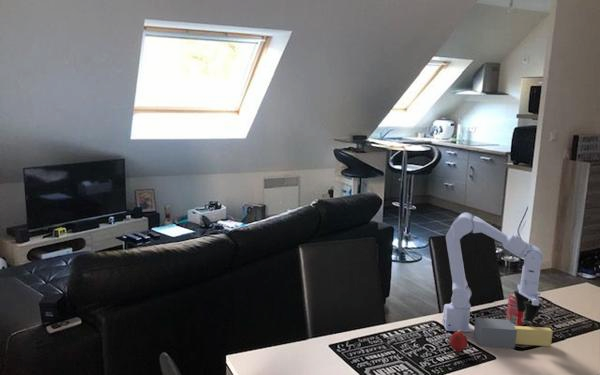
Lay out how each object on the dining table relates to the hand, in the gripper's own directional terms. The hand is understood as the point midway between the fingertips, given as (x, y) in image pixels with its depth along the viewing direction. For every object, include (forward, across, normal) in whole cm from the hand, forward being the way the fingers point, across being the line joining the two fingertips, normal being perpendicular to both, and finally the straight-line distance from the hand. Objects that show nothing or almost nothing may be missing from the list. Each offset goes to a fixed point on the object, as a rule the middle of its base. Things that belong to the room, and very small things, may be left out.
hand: (525, 315), depth 172 cm
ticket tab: (+9, -2, -1) cm, 10 cm away
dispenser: (+10, -2, +11) cm, 15 cm away
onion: (+10, -11, +26) cm, 30 cm away
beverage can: (+10, +14, -2) cm, 17 cm away
